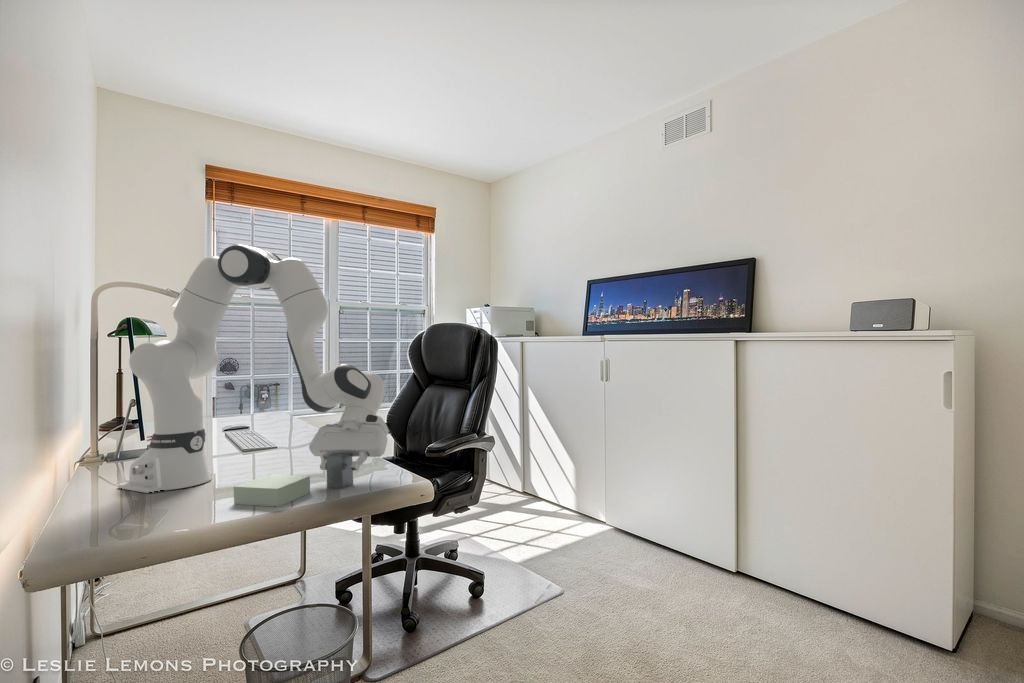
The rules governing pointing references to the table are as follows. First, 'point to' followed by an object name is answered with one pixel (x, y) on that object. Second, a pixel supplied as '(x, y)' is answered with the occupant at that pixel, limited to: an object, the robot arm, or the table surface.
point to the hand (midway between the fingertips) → (338, 469)
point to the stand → (271, 490)
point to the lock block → (339, 470)
